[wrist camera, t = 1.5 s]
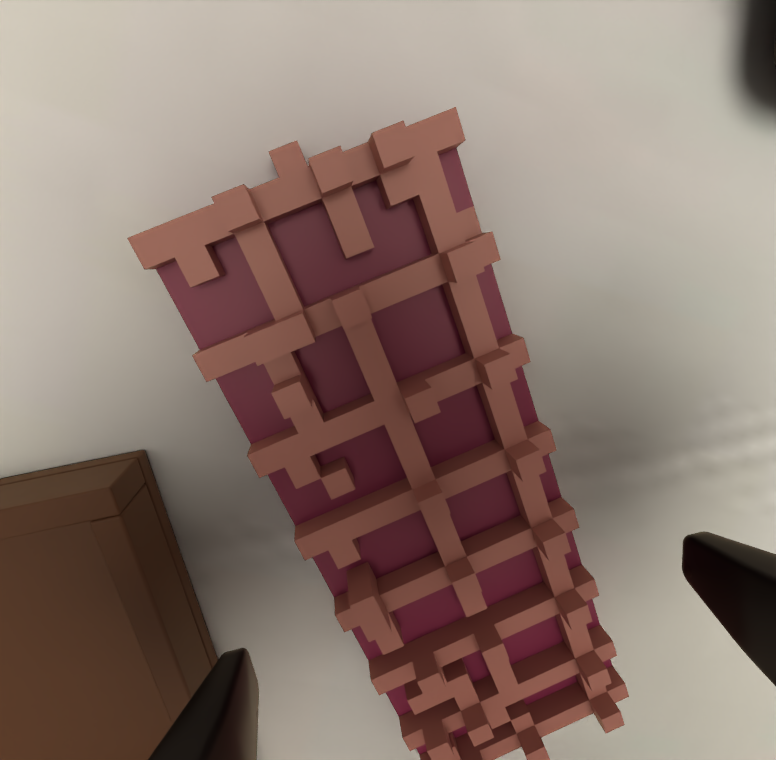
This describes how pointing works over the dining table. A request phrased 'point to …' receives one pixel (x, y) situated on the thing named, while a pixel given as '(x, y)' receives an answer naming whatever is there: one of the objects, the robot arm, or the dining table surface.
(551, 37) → the dining table surface
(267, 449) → the pink flat grid slab
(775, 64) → the door handle
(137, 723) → the tray
